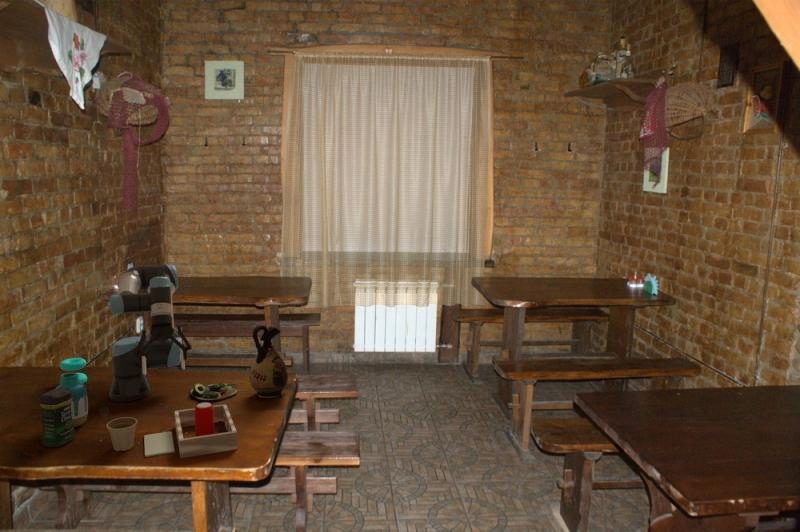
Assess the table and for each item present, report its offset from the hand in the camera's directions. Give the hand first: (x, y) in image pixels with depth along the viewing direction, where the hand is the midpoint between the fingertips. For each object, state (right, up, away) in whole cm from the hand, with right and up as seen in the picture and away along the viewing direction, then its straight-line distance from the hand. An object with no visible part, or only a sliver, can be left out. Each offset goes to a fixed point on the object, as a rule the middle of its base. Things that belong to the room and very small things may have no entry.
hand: (164, 371), depth 226 cm
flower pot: (-6, -22, -20) cm, 30 cm away
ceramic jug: (+32, -15, +28) cm, 45 cm away
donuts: (-53, -12, +38) cm, 66 cm away
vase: (-31, -19, -4) cm, 37 cm away
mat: (+5, -22, -18) cm, 28 cm away
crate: (+19, -21, -12) cm, 31 cm away
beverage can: (+19, -21, -12) cm, 31 cm away
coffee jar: (-29, -21, -17) cm, 40 cm away
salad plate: (+9, -15, +28) cm, 33 cm away
